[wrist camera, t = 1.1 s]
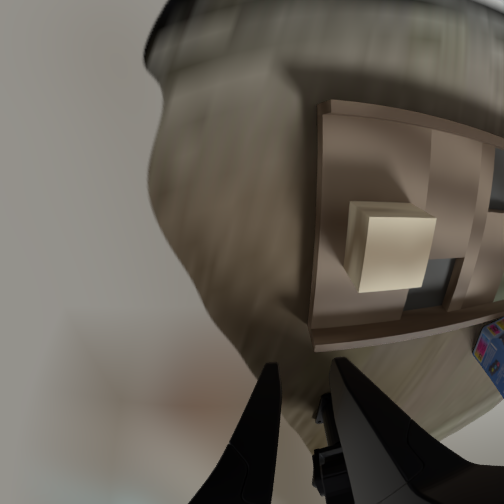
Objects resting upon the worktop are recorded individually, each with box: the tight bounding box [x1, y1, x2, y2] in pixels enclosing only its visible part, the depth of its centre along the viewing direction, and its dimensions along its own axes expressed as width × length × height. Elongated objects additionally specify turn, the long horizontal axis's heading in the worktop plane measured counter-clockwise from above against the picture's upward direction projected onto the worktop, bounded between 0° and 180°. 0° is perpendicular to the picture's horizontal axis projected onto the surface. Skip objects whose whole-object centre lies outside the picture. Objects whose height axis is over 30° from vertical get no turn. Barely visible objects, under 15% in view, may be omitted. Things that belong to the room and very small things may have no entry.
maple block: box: [343, 201, 437, 293], centre depth 17 cm, size 5×5×4 cm
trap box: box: [307, 99, 504, 352], centre depth 19 cm, size 18×29×4 cm, turn 92°
